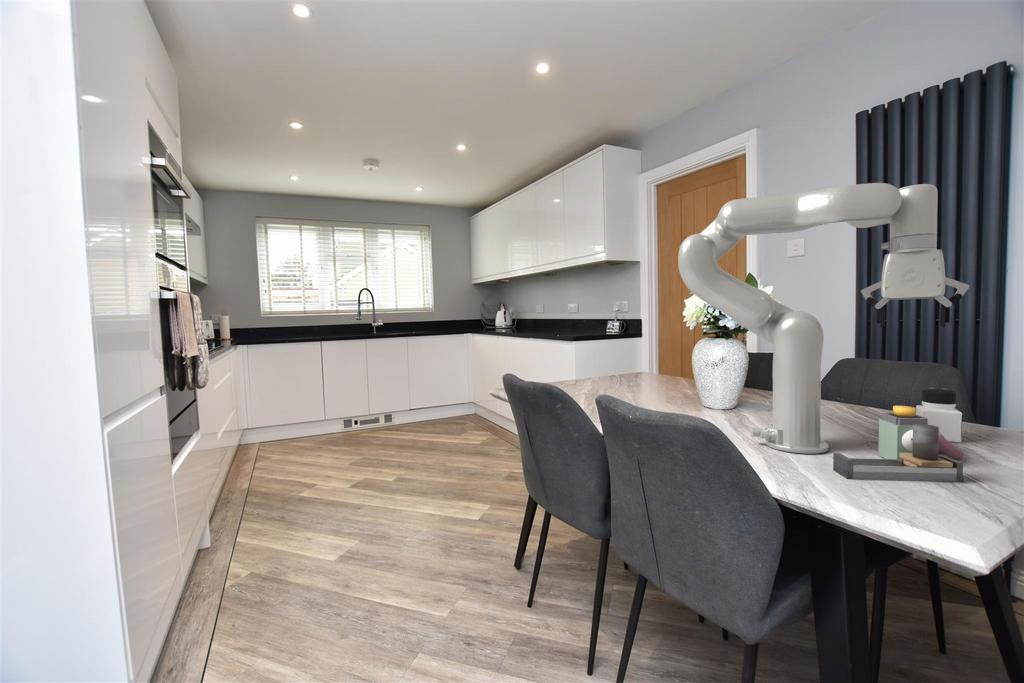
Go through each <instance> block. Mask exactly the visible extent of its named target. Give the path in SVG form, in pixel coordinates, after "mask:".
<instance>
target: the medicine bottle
mask: <svg viewBox="0 0 1024 683" xmlns="http://www.w3.org/2000/svg"><path fill="white" fill-rule="evenodd" d="M956 407H957V392H956V391H955V390H952V389H950V388H943V387H942V388H941V387H927V388H923V389H922V390H921V404H920V405H919V404H918V405H916V407H915V408H916V415H918V416H921V417H925V418H927V419H928V425H933V426H937V427H939V432H940V433H941V434H942V435H943V436H944V437H945V439H946V440H947V441H949V442H950V443H962V441H963V413H962V412H961V411H959V410H958V409H957V408H956Z"/></svg>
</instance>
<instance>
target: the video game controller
mask: <svg viewBox="0 0 1024 683" xmlns="http://www.w3.org/2000/svg"><path fill="white" fill-rule="evenodd" d="M938 455H944V456H947V457H949V458H952V459H954V460H956V459H960V460H959V461H961V460H962V459H963V458H964V456H965V455H964V452H963V451H962V450H961V449H960V448H959V447H957V446H955V445H954V444H952V442H949V441H947V440H946V439H945V437H944V436H943V435H942V434H941V433H940V432H939V441H938Z"/></svg>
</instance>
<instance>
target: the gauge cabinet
mask: <svg viewBox="0 0 1024 683" xmlns="http://www.w3.org/2000/svg"><path fill="white" fill-rule="evenodd" d="M881 414H882V415H881V416H882V417H881V418H879V419H878V451H877V452H878V455H879V457H880V456H881V457H880V458H882V457H883V458H882V459H884V458H885V459H903V458H901V457H899V453H912V451H913V424H927V425H928V419H927V418H925V417H921V416H918V415H916V416H914V417H905V416H897V415H894V414H893V412H882V413H881Z"/></svg>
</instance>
